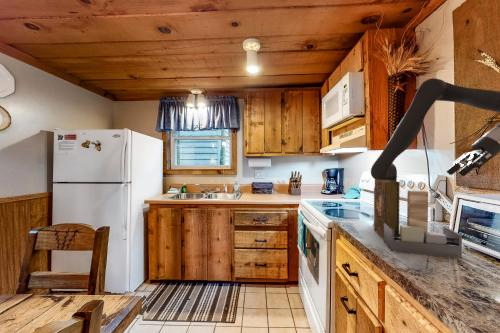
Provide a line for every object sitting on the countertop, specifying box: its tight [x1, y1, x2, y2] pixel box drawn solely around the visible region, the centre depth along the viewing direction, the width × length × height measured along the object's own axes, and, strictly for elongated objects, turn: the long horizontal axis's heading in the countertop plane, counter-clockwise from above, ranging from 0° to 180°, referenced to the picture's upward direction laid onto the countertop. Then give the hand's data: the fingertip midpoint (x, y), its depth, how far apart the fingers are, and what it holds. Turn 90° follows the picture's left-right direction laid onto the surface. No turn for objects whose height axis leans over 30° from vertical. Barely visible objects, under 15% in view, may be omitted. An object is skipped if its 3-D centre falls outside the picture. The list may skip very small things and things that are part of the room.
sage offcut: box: [399, 225, 424, 243], centre depth 91 cm, size 2×7×9 cm, turn 73°
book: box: [373, 179, 401, 240], centre depth 111 cm, size 16×6×25 cm, turn 168°
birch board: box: [406, 189, 429, 233], centre depth 95 cm, size 3×6×22 cm, turn 73°
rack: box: [383, 223, 463, 259], centre depth 93 cm, size 12×22×8 cm, turn 73°
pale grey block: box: [424, 232, 446, 244], centre depth 89 cm, size 2×6×7 cm, turn 74°
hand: (454, 173), depth 91 cm, fingers open, 8 cm apart
